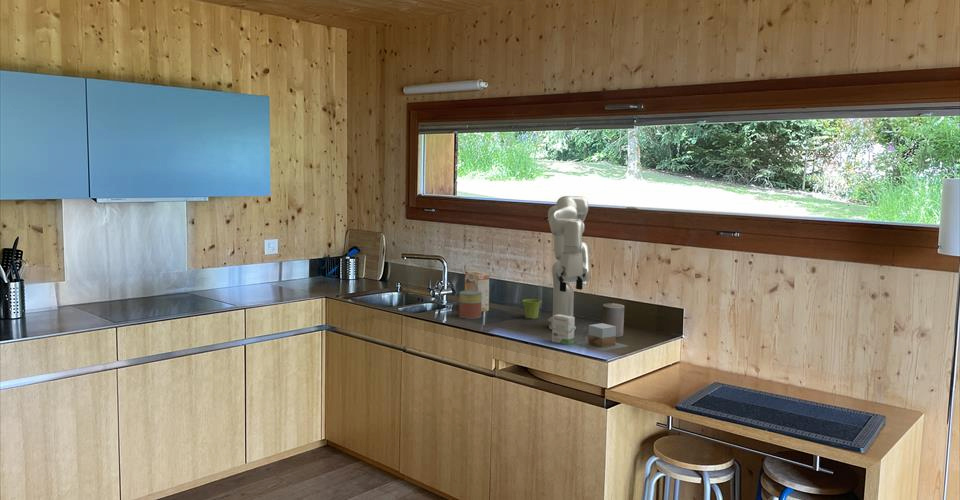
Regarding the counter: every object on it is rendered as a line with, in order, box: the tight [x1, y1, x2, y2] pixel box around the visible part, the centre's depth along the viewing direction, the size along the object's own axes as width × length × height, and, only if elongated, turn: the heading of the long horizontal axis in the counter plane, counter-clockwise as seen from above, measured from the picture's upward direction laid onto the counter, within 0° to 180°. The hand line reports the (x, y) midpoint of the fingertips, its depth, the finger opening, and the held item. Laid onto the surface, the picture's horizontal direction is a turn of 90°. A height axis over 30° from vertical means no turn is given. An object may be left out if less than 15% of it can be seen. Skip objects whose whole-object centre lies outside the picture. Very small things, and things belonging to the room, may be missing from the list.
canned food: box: [458, 290, 482, 320], centre depth 360 cm, size 11×11×12 cm
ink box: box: [551, 314, 576, 346], centre depth 307 cm, size 8×5×12 cm, turn 46°
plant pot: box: [522, 298, 542, 320], centre depth 360 cm, size 9×9×9 cm
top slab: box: [588, 322, 616, 338], centre depth 304 cm, size 8×8×4 cm
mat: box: [575, 340, 628, 352], centre depth 305 cm, size 16×16×1 cm
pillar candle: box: [601, 302, 625, 338], centre depth 323 cm, size 10×10×15 cm
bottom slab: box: [587, 334, 617, 348], centre depth 305 cm, size 8×8×4 cm
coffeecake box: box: [464, 269, 490, 313], centre depth 380 cm, size 15×7×20 cm, turn 28°
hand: (571, 290), depth 305 cm, fingers open, 9 cm apart
